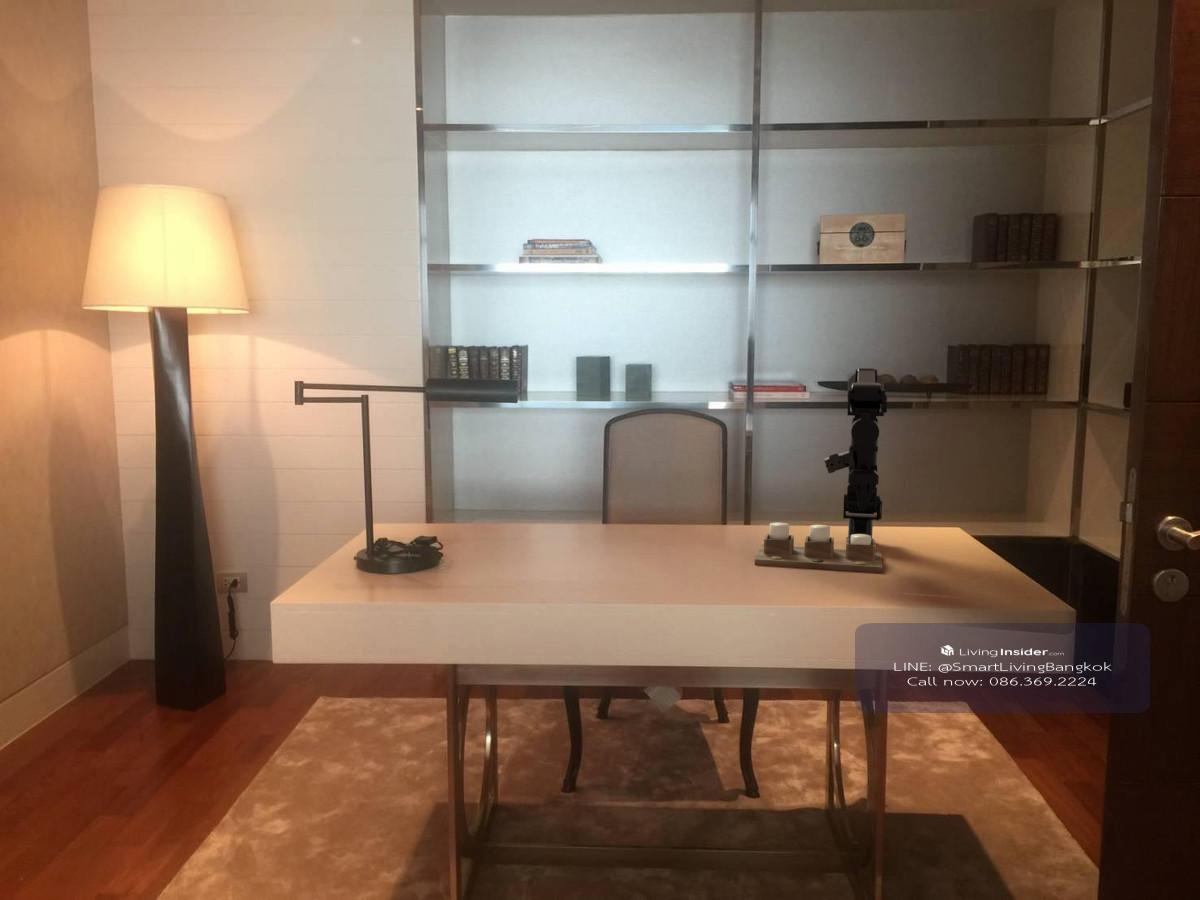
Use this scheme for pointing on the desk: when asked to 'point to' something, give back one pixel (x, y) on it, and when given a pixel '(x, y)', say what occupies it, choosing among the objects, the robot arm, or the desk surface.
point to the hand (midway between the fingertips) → (861, 510)
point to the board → (819, 555)
